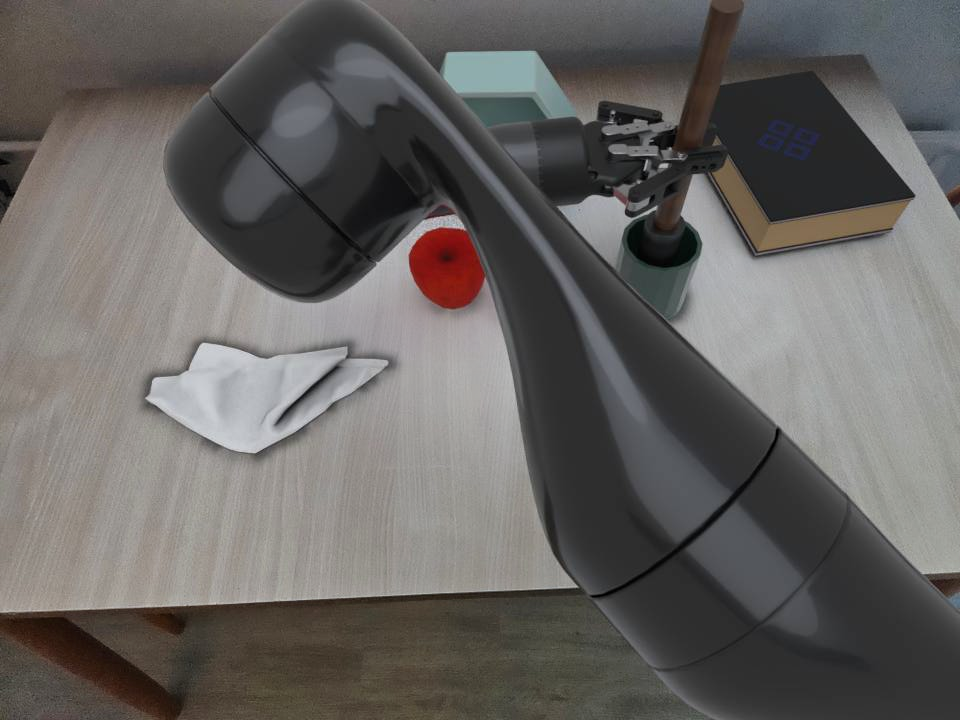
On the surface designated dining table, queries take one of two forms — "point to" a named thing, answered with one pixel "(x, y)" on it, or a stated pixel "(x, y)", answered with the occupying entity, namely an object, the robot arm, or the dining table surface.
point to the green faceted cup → (659, 269)
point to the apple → (446, 267)
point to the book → (800, 166)
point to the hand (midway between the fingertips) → (718, 145)
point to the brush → (692, 128)
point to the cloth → (257, 392)
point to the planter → (505, 86)
